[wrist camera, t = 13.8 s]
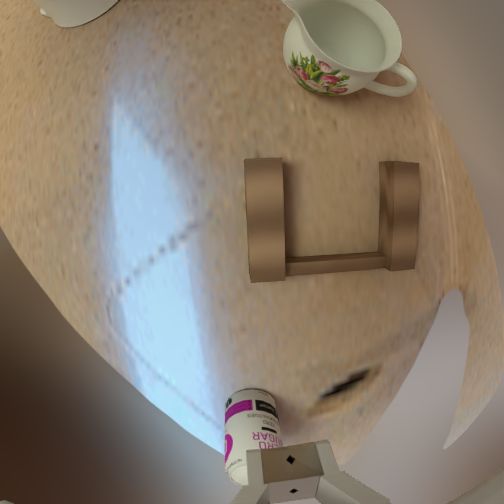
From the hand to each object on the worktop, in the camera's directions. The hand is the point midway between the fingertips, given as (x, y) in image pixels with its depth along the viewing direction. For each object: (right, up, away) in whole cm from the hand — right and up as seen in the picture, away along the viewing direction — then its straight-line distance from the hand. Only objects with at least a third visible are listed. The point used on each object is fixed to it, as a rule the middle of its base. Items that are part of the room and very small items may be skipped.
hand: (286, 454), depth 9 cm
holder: (+9, +12, +28) cm, 32 cm away
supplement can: (-2, -18, +35) cm, 39 cm away
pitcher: (+8, +31, +23) cm, 40 cm away
